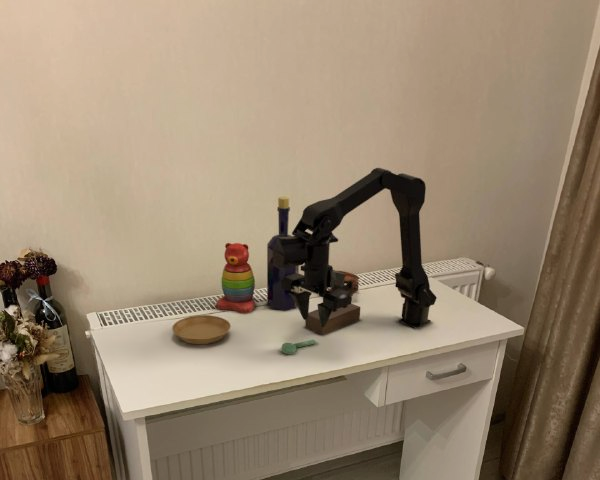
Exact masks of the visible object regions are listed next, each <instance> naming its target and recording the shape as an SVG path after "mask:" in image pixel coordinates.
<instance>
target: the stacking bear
mask: <svg viewBox="0 0 600 480" xmlns="http://www.w3.org/2000/svg"><path fill="white" fill-rule="evenodd" d="M224 247H225V250H224V260H225V262H226V263H225V265H224V266H223V271H222V276H221V283H220V284H221V290H222V293H223V296H222V297H221V298H219V299H218V300H217V301H216V302H215V307H216V308H217V309H218V310H231V311H232V310H233V311H236V312H238V313H240V314H241V313H242V314H248V313H251V312H252V311H254V309H255V308H256V302H255V299H254V294H255V287H256V284H255V283H256V280H255V276H254V271H253V269H252V266H251V265H250V264H249V263H248V262H249V259H250V258H249V257H250V252H249V245H248V244H246V243H244V244H242V243H239V242H235V243H231V242H226V243H225V246H224Z"/></svg>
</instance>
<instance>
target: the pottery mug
mask: <svg viewBox="0 0 600 480" xmlns="http://www.w3.org/2000/svg"><path fill="white" fill-rule="evenodd" d="M337 271H338V272H341V273H344V274H346V276H345V279H344V283H343V286H342V287H341V286H339V285H334V287H332V288H327V290H328V291H333V290H336V289H341V290H344V291H346V292H349V293H350V294H351V295H352V297H353V296H354V294H356V293H357V292H359V285H360V282H359V280H360V277H359V276H358V275H357V274H354V273H352V272H348V271H343V270H337Z"/></svg>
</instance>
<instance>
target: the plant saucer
mask: <svg viewBox="0 0 600 480" xmlns="http://www.w3.org/2000/svg"><path fill="white" fill-rule="evenodd" d="M231 328H232V327H231V323H230V322H229V320H227V319H226V318H223V317H221V316H217V315H210V314H209V315H208V314H200V315H199V314H198V315H191V316H187V317H184V318H181V319H179V320H177V321H176V322H175V323H174V324H173V325H172V327H171V330H172V332H173V333H174V334H175V335H176V336H177V337H178V338H179V339H181V340H182V341H183V342H185V343H188V344H193V345H208V344H213V343H215V342H218V341H219V340H221V339H222V338H224V337H225V336H226V335H227V334H228V332H229V331H230V329H231Z"/></svg>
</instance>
